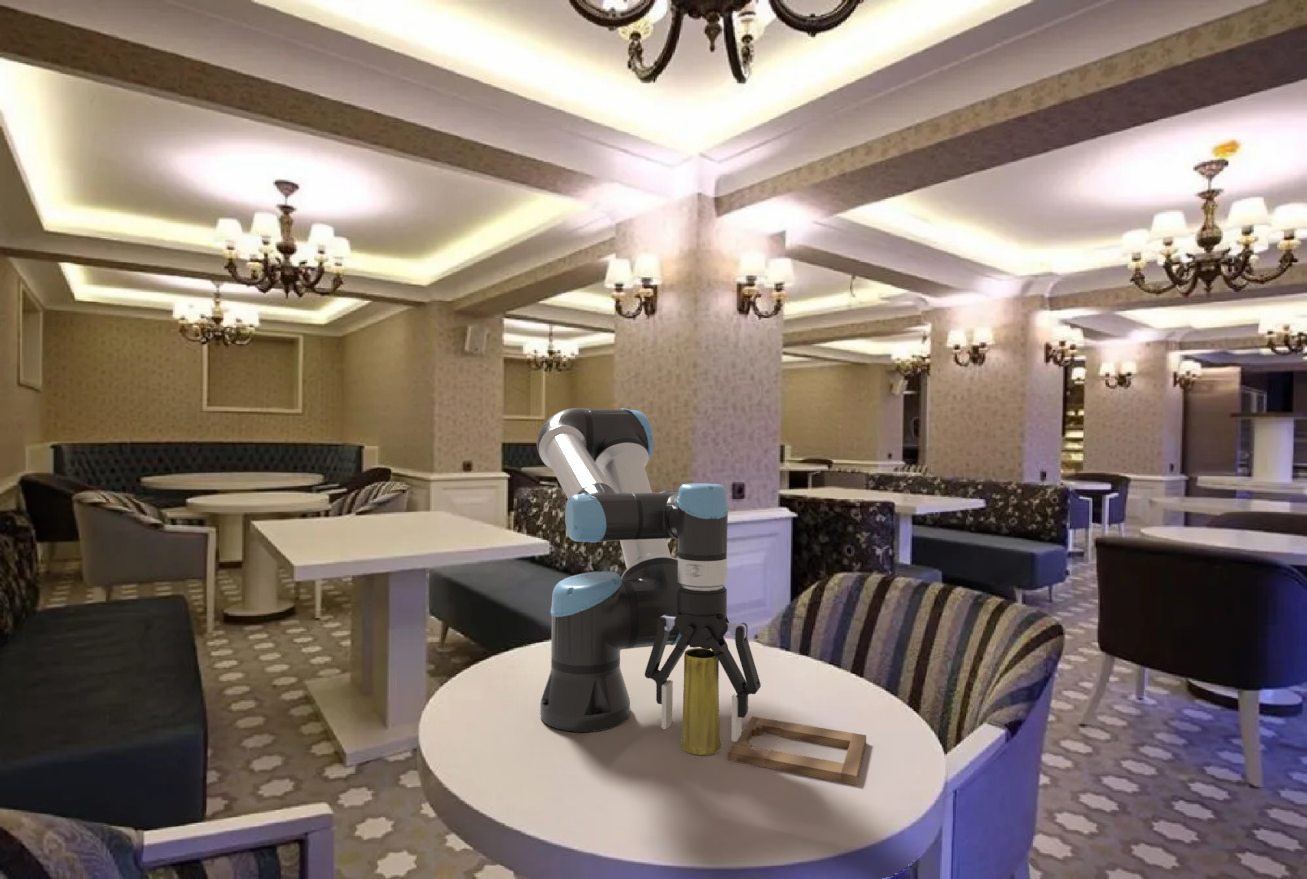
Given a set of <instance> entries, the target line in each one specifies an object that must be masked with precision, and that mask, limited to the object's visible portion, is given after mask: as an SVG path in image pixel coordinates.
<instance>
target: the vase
mask: <svg viewBox="0 0 1307 879" xmlns="http://www.w3.org/2000/svg"><path fill="white" fill-rule="evenodd" d="M683 654H684V658H683V663H684V664H683V692H682V694H683V696H682V728H681V729H682V731H681V740H680V741H681V742H680V747H681V749H682V750H683V751H685V752H686V753H687V754H691V755H695V756H710V755H714V754H717V753H718V752H720V750H721V749H722V743H721V731H720V730H721V728H720V725H721V722H720V721H721V720H720V698H719V696H720V694H719V693H720V692H719V691H720V690H719V689H720V688H719V686H720V683H719V681H720V680H719V678H720V677H719V676H720V675H719V673H720V672H719V671H720V661H719V659H718V657H717V656H716V655H715V654H714V653H713V651H712V649H711V648H710V649H703V648H701V647H696V648H693V647H692V648H690V649H686V650H685V651H684V653H683Z"/></svg>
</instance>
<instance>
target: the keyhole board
mask: <svg viewBox="0 0 1307 879" xmlns="http://www.w3.org/2000/svg"><path fill="white" fill-rule="evenodd" d="M763 734H768V735H773V736H779V737H781V738H785V739H791V740H798V741H801V742H809V743H815V744H820V745H826V746H832V747H837V748H843V749H847V751H846V755H845V759H844V761H843V762H839V761H833V760H828V759H822V758H818V757H812V756H807V755H806V756H805V755H802V754H801V755H800V754H794V753H791V752H784V751H778V750H773V749H770V750H767V749H762V748H757V747H753V745H752V743H750V741H751V739H752V738H756V737H757V736H762V735H763ZM733 742H734V743H733V744H732V745H731V747H730V748H729V750H728V751H727V760H728V761H732V762H737V763H743V764H747V765H751V766H752V765H753V766H755V767H756V766H758V767H763V768H766V769H767V768H768V769H772V770H777V771H783V772H787V773H788V772H789V773H792V774H793V773H794V774H799V775H804V776H809V777H814V778H819V779H820V778H821V779H824V780H828V781H829V780H830V781H835V782H840V783H845V784H851V785H855V786H857V784H858V780H859V779H858V778H859V776H860V771H861V767H862V766H861V765H862V762H863V758H864V754H865V748H866V745H867V735H866V734H860V733H854V732H849V731H842V730H836V729H832V728H831V729H830V728H825V727H817V726H813V725H811V726H810V725H808V724H807V725H805V724H800V723H795V722H787V721H782V720H781V721H780V720H775V719H770V718H763V717H757V716H751V717H750V718H749V721H748V722H747V724H746V725H745V726H744V728H743V729H742V730H741V736H740V737H739V739H738V740H737V742H736V741H733Z"/></svg>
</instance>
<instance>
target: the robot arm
mask: <svg viewBox="0 0 1307 879" xmlns="http://www.w3.org/2000/svg"><path fill="white" fill-rule="evenodd" d="M653 435H654V433H653V428H652V425H651V423H650V420H649V419H648V417H647V416H646V415H645V414H644V413H643V412H642V411H639V410H637V409H628V408H619V409H615V408H613V409H612V408H611V409H610V408H581V407H573V408H566V409H564V410H561V411H559V412H557V413H555V414H553V415H552V416H550V417H549V418H548V419H547V420H546V421H545V422H544V424H542V426H541V427H540V429H539V431H538V434H537V438H536V450H537V453H538V455H539V457H540V459H541V461H542V463H544V465H545V466H547V467H548V468H549V469H551V470H552V472H553V473H554V475H555V477H556V479H557V481H558V482H559V485H560V487H561V488H562V490H563V492H564V494H565V497H566V498H567V500H566V505H565V510H564V520H565V521H564V523H565V524H564V525H565V527H566V534H567V535H568V538H569V539H570V540H572V541H573V542H575V543H576V542H580V543H581V542H582V543H583V542H585V543H592V544H593V543H599V542H615V541H617V542H618V541H619V542H620V547H621V551H622V555H623V559H624V560H623V561H624V563H625V568H626V569H625V570H624V571H623V574H622V575H621V576H620V574H619V573H618V572H615V571H611V570H610V571H609V570H604V571H589V572H583V573H579V574H574V575H571V576H568V577H565V578H564V579H562V580H560V581H558V582H557V583H556V584H555V586H554V588H553V590H552V596H551V598H552V599H551V608H550V615H551V648H550V649H551V650H550V652H551V655H550V656H551V663H550V665H551V669H550V672H549V675H548V679H547V682H546V684H545V687H544V690H543V694H542V696H541V699H540V700H541V701H540V706H539V707H540V708H539V710H540V711H539V712H540V714H539V715H541V717H540V719H541V718H542V719H541V721H542V720H543V721H544V722H545V723H546V724H545V723H544V722H543V721H542V722H543V723H544V724H545V725H547V724H548V725H547V726H549V725H550V726H549V727H551V726H552V727H551V728H553V727H554V728H553V729H557V730H560V729H561V730H560V731H567V732H574V733H575V732H577V733H581V732H584V733H585V732H596V731H597V732H598V731H603V730H608V729H610V728H614V727H616V726H619V725H620V724H623V723H624V722H625V721H626V720H628V718H629V717H630V714H631V700H630V695H629V693H628V690H627V686H626V683H625V680H624V676H623V673H622V670H621V651H622V650H627V649H628V650H629V649H639V648H649V647H650V648H651V647H652V649H651V652H650V655H649V659H648V662H647V664H646V667H645V671H644V677H645V678H646V679H651V680H653V681H654V682H655V687H656V693H655V694H656V696H655V697H656V698H655V699H656V703H657V705H661V729H664V730H665V729H667V728H669V727H670V725H671V724H672V723H673V704H674V703H673V700H674V698H673V696H674V695H673V694H674V693H673V690H674V688H673V686H674V682H673V680H671V679H668V678H670V675H671V673H672V672H673V670H674V668H675V667H676V665H677V664H678V663H679V661H680V659H681V658H682V656H683V654H685V651H687V648H688V647H689V648H692V649H693V648H703V649H712V651H713V653H714V654H715V655H716V656H717V657H718V659H719V664H720V665H721V667H722V668H723V671H724V672H725V674H726V676H727V678H728V679H729V681H730V684H731V685H732V687H733V689H734V690H735V692H734V693H733V695H732V696H731V741H732V742H735V741H736V742H737V740H738V739H739V737H740V736H741V732H742V719H745V718H746V716H747V715H748V712H749V695H755V694H757V692H758V691H759V689H761V687H762V683H761V681H760V677H759V674H758V670H757V666H756V664H755V660H754V657H753V654H752V650H751V647H750V644H749V640H748V629H749V628H748V627H749V626H748V625H747V623H745V622H742V623H740V624H737V623H732V622H729V619H728V616H727V610H728V609H727V607H728V606H727V604H728V603H727V602H728V595H727V594H728V589H727V588H726V587H725V585H726V584H727V583H728V556H727V555H728V521H729V520H728V514H729V505H728V493H727V492H728V491H727V489H726V487H725V486H724V485H723V484H719V483H704V482H702V483H701V482H700V483H698V482H697V483H695V482H694V483H683V484H681V486H679V488H678V491H677V490H664V491H661V492H653V491H652V488H651V485H650V480H649V477H648V474H647V471H646V467H647V465H648V462H649V460H650V459H651V457H652V454H653V452H654V442H655V441H654V438H653ZM667 539H675V540H677V557H673V556H672V555H671V552H670V549H669V548H670V547H669V546H668V542H667ZM728 632H729V633H730V634H731V638H732V639H733V640H734V642H735V646H736V647H735V648H736V651H737V654H738V659H739V662H740V666H741V668H742V671H743V673H742V672H741V669H740V667H739V666H738V664H737V662H736V661H735V659H734V657H733V655H732V653H731V651H730V650H729V646H728V643H727V641H726V639H725V638H724V636H725V635H726V634H727V633H728ZM666 646H674V648H673V650H672V652H671V653H670V654H669V656H668V658H667V659H666V661H665V662H664V664H663V665H662V668H661V669H659V667H660V664H661V661H662V659H663V655H664V651H665V649H666Z"/></svg>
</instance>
